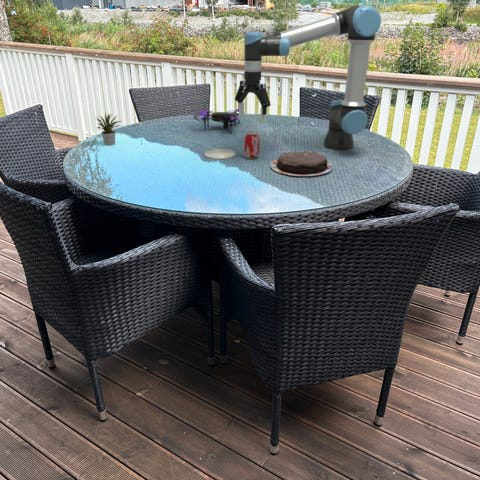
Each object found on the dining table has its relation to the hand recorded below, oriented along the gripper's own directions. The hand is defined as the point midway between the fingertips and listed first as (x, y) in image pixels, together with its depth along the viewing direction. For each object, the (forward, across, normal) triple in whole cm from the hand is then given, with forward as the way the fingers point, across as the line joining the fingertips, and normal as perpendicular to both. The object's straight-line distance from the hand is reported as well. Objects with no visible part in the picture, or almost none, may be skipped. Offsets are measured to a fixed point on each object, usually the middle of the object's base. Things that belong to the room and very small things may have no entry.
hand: (251, 119), depth 211 cm
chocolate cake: (+18, +26, +5) cm, 32 cm away
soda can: (+18, 0, 0) cm, 18 cm away
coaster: (+18, -14, -8) cm, 24 cm away
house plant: (+19, -68, -37) cm, 79 cm away
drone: (+18, -52, +26) cm, 61 cm away
